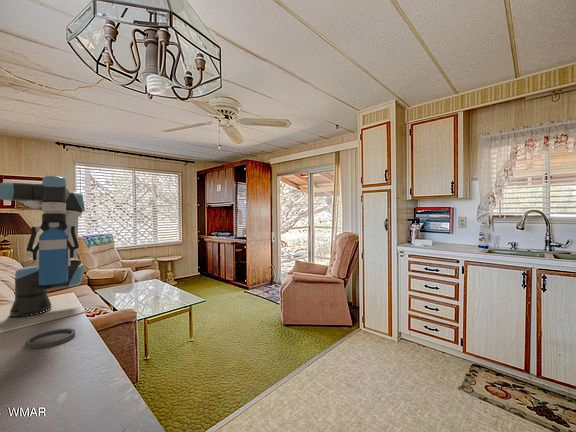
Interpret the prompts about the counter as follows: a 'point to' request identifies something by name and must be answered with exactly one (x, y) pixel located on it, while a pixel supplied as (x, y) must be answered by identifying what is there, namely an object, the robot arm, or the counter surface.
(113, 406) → the counter surface
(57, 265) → the water bottle
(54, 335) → the coaster ring
